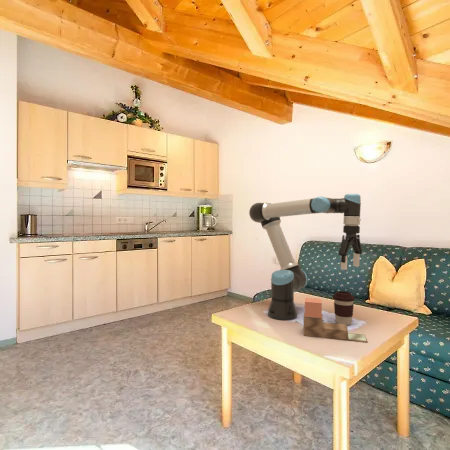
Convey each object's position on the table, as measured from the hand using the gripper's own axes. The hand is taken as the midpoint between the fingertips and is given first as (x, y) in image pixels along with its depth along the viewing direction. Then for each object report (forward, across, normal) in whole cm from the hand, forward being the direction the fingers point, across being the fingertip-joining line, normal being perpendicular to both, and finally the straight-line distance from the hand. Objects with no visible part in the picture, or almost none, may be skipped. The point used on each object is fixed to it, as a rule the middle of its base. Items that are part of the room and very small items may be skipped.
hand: (350, 267), depth 147 cm
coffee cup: (+27, -5, 0) cm, 27 cm away
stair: (+27, -23, -5) cm, 36 cm away
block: (+19, -28, +3) cm, 34 cm away
